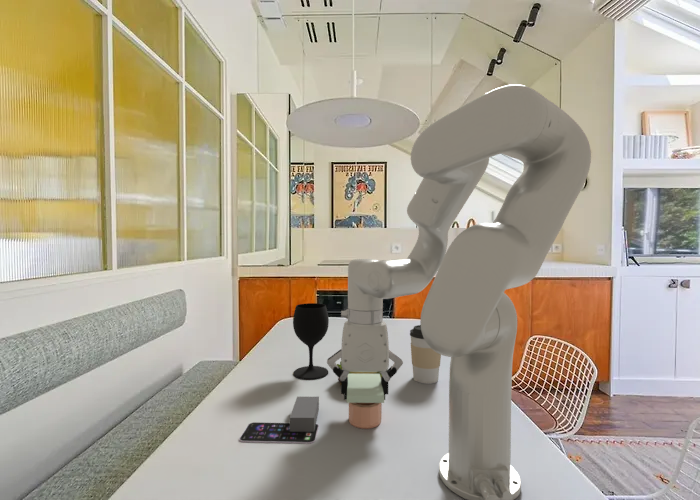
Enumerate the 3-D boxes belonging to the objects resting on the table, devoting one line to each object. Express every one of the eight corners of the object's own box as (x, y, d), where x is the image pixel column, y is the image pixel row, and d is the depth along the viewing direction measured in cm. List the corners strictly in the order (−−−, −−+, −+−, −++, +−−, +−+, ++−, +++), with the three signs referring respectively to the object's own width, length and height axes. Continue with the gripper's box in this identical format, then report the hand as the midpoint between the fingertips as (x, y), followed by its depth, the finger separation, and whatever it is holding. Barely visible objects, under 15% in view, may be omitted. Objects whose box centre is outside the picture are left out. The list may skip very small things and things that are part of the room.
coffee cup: (443, 386, 97) (443, 330, 97) (408, 383, 99) (409, 329, 98) (441, 374, 106) (441, 323, 105) (410, 372, 108) (410, 321, 107)
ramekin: (382, 428, 75) (382, 407, 75) (348, 428, 75) (348, 407, 75) (379, 412, 82) (380, 393, 82) (349, 412, 82) (349, 393, 82)
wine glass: (285, 375, 104) (285, 307, 104) (306, 365, 114) (306, 301, 113) (316, 382, 99) (316, 310, 99) (335, 370, 109) (335, 304, 108)
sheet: (384, 402, 72) (384, 395, 72) (346, 402, 72) (346, 395, 72) (379, 379, 84) (379, 373, 84) (347, 379, 84) (347, 373, 84)
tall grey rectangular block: (314, 432, 73) (314, 417, 73) (289, 432, 73) (289, 417, 73) (318, 409, 83) (318, 396, 83) (297, 409, 83) (297, 396, 83)
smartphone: (314, 442, 69) (237, 440, 70) (314, 445, 69) (237, 443, 70) (319, 423, 77) (249, 422, 77) (319, 426, 77) (249, 424, 77)
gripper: (323, 319, 74) (323, 404, 75) (408, 320, 74) (407, 405, 75) (326, 312, 82) (325, 389, 82) (403, 313, 82) (402, 390, 82)
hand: (364, 396), depth 78 cm, fingers closed on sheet, 7 cm apart
